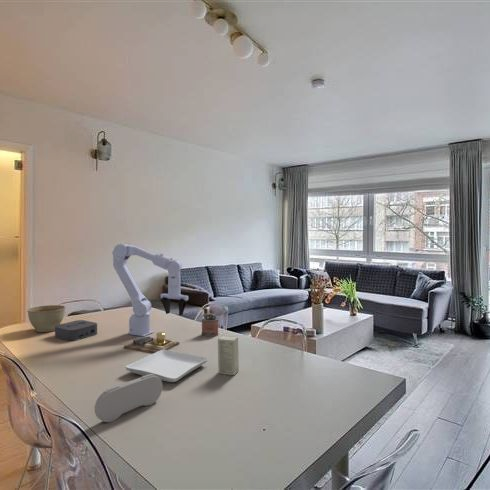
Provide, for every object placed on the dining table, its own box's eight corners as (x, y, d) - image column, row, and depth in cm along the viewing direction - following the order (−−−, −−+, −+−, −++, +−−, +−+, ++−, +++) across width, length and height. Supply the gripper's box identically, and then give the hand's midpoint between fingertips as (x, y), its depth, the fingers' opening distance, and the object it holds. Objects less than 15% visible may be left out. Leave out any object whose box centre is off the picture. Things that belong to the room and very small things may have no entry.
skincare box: (238, 371, 125) (239, 336, 124) (234, 376, 120) (234, 340, 120) (222, 368, 127) (222, 334, 126) (217, 373, 122) (217, 338, 122)
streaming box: (80, 329, 176) (80, 319, 176) (99, 334, 169) (99, 323, 169) (52, 337, 163) (52, 326, 163) (72, 342, 156) (71, 330, 156)
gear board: (124, 347, 148) (124, 342, 148) (146, 338, 161) (146, 333, 161) (159, 354, 141) (159, 348, 141) (179, 344, 154) (179, 338, 154)
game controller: (158, 397, 104) (158, 369, 104) (162, 400, 103) (162, 371, 103) (93, 424, 90) (93, 392, 89) (98, 427, 88) (98, 394, 88)
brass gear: (151, 346, 148) (151, 334, 148) (159, 342, 153) (159, 331, 153) (162, 347, 146) (162, 335, 146) (170, 344, 151) (170, 332, 151)
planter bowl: (72, 328, 177) (72, 307, 176) (38, 336, 163) (38, 313, 163) (54, 324, 185) (54, 303, 185) (21, 331, 172) (20, 308, 171)
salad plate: (209, 365, 130) (209, 356, 130) (175, 388, 111) (175, 378, 111) (163, 356, 139) (163, 348, 139) (123, 376, 120) (123, 366, 120)
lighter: (218, 334, 170) (219, 313, 170) (217, 336, 166) (217, 314, 166) (202, 333, 171) (202, 312, 170) (200, 335, 167) (200, 314, 167)
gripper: (156, 285, 168) (156, 314, 168) (182, 288, 162) (182, 317, 163) (165, 283, 174) (165, 311, 175) (190, 285, 169) (190, 314, 169)
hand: (174, 314), depth 169 cm, fingers open, 7 cm apart
